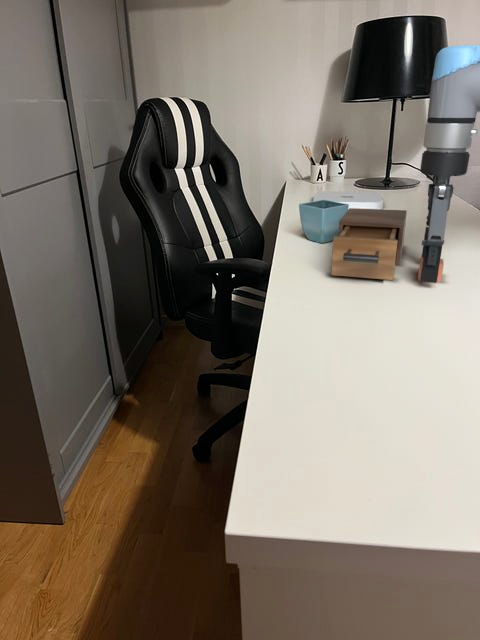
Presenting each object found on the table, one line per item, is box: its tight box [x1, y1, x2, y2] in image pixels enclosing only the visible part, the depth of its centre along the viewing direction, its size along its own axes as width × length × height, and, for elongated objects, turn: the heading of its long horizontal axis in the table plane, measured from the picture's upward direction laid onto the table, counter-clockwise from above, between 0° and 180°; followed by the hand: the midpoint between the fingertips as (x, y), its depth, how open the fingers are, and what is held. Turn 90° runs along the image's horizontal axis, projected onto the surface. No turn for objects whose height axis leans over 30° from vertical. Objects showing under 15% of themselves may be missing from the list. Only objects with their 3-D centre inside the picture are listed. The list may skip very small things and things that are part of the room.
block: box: [417, 257, 445, 283], centre depth 93 cm, size 4×4×4 cm
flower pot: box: [298, 200, 349, 244], centre depth 122 cm, size 9×9×9 cm
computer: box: [312, 190, 384, 210], centre depth 167 cm, size 22×22×3 cm
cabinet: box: [338, 208, 408, 266], centre depth 108 cm, size 15×13×9 cm
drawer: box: [331, 225, 398, 281], centre depth 96 cm, size 19×11×7 cm, turn 161°
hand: (428, 270), depth 93 cm, fingers open, 13 cm apart
